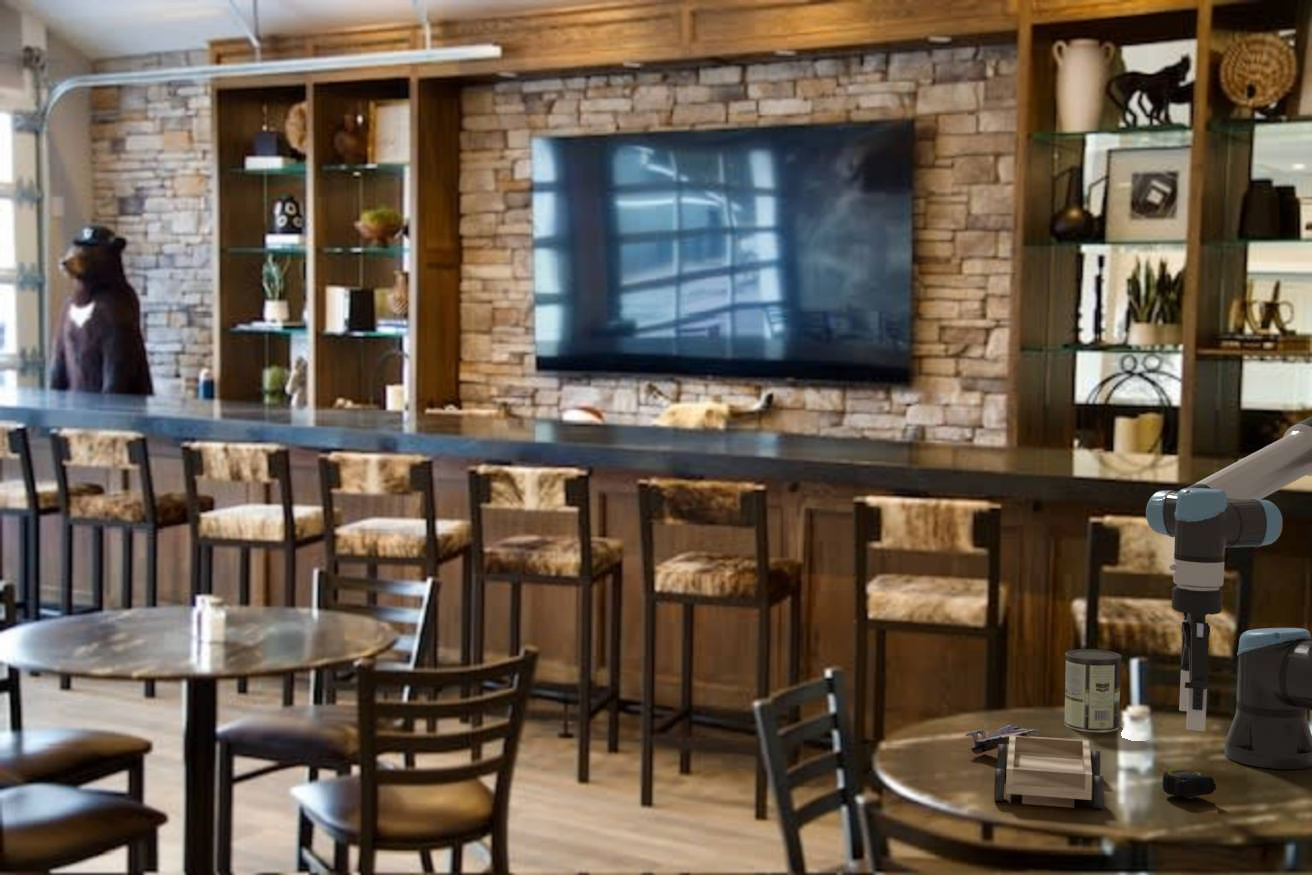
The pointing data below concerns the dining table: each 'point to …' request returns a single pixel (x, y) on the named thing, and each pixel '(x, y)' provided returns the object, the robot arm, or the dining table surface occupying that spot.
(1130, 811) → the dining table surface
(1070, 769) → the cart
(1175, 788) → the tape measure
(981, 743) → the toy race car
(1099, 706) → the coffee can
